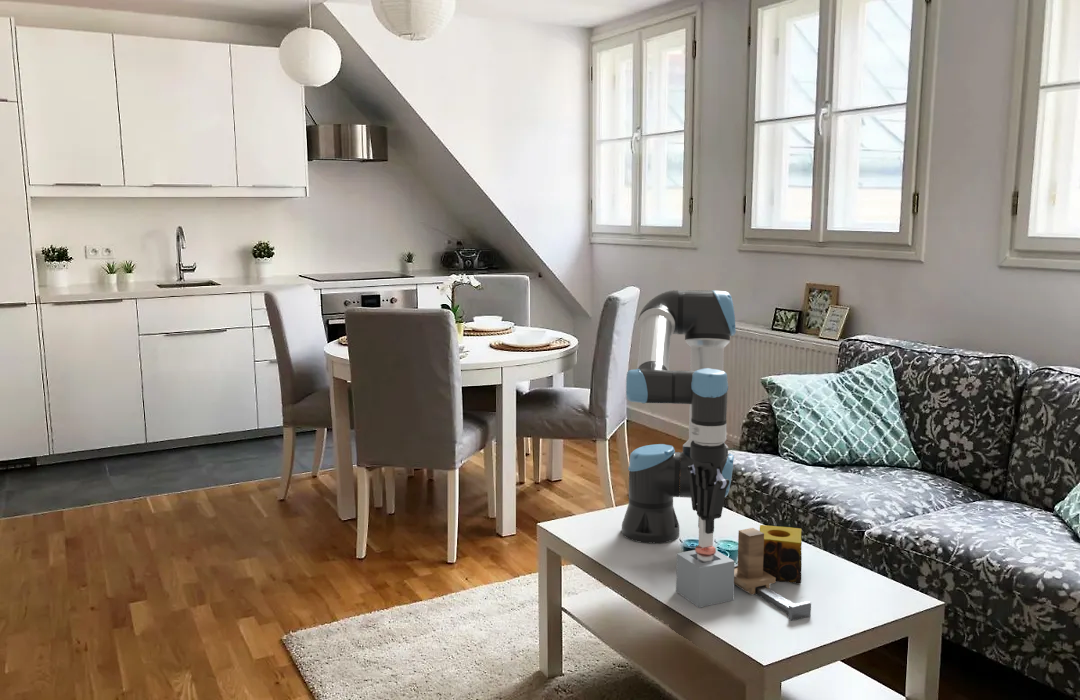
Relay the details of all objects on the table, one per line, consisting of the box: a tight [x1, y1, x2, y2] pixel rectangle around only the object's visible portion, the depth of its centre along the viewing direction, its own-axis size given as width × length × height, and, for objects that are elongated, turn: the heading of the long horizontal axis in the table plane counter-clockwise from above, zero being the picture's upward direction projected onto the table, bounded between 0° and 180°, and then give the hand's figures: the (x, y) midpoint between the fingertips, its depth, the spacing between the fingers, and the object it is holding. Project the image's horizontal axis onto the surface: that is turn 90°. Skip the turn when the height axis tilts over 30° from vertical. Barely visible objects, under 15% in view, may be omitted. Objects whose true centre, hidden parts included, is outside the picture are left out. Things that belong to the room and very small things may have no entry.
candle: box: [759, 524, 803, 585], centre depth 208 cm, size 10×10×10 cm
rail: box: [734, 563, 812, 621], centre depth 196 cm, size 23×5×3 cm, turn 24°
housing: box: [675, 549, 736, 608], centre depth 197 cm, size 9×9×9 cm
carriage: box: [734, 527, 777, 596], centre depth 201 cm, size 8×8×13 cm
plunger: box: [694, 544, 717, 563], centre depth 196 cm, size 4×4×5 cm
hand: (705, 545), depth 196 cm, fingers closed
